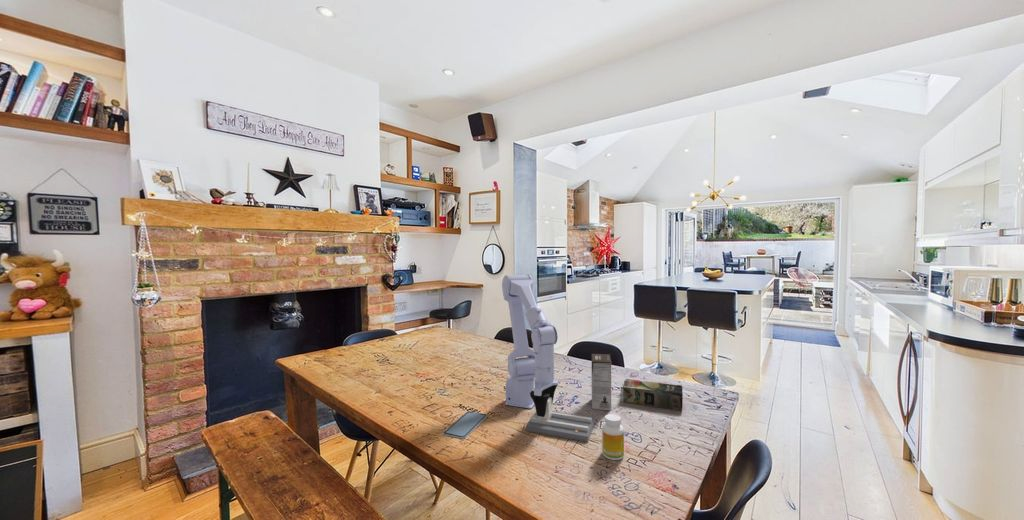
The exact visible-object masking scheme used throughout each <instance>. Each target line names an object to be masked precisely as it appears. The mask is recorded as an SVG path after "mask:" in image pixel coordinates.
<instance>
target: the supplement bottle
mask: <svg viewBox="0 0 1024 520" xmlns="http://www.w3.org/2000/svg"><path fill="white" fill-rule="evenodd" d="M601 453H602V455H603V457H605V458H607V459H609V460H612V461H619V460H622V459H623V458H625V457H624V456H625V430H624V427H623V425H622V417H621V416H620V415H618V414H614V413H608V414H606V415H605V416H604V423H603V424H602V427H601Z"/></svg>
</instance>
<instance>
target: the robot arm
mask: <svg viewBox="0 0 1024 520" xmlns="http://www.w3.org/2000/svg"><path fill="white" fill-rule="evenodd" d="M501 288H502V295H503V300H504V301H505V302H507V304H508V309H509V315H510V316H509V317H510V322H511V331H512V339H513V346H514V347H513V348H514V349H513V350H512V351H511V352H510V353H509V354H508V356H507V372H508V374H509V375H508V376H507V379H506V382H505V402H504V405H506V406H512V407H517V408H525V409H530V410H531V409H532V408H533V407H535V412H537V416H540V417H544V416H545V413H546V406H547V401H548V398H549V397H551V398H552V404H553V402H554V397H555V392H556V389H557V387H558V385H559V380H556V379H555V345H556V344H557V342H558V338H559V337H558V336H559V335H558V331H557V329H556V327H555V325H554V324H552V323H551V322H549V320H548V318H547V317H546V315H545V311H544V310H543V308H542V307H541V306H538V304H537V302H536V298H535V296H534V293H533V291H534V280H533V277H532V276H531V275H530V274H519V275H517V274H516V275H509V274H505V275H504V277H503V278H502V282H501ZM523 306H524V307H523ZM524 308H525V310H526V313H524ZM525 318H526V319H525ZM526 320H527V322H528V323H527V324H528V325H529V328H530V330H531V334H530V337H531V343H532V348H530V346H529V341H528V334H527V328H526Z"/></svg>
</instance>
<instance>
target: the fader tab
mask: <svg viewBox="0 0 1024 520" xmlns="http://www.w3.org/2000/svg"><path fill="white" fill-rule="evenodd" d="M552 406H553V403H552V398H551V397H549V398H548V401H547V406H546V413H545V416H544V417H540V416H538V418H540V419H546V420H549V419H550V418H551V416H552V411H553V409H552V408H553V407H552Z"/></svg>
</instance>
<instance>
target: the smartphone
mask: <svg viewBox="0 0 1024 520" xmlns="http://www.w3.org/2000/svg"><path fill="white" fill-rule="evenodd" d="M487 415H488V414H486V413H482V412H475V411H470V410H469V411H466V412H465V413H463V415H461V416H460V417H459V418H458V419H457V420H455V421H454V423H452V424H451V425H450V426H449V427H447V428H446V430H444V431H443V432H442V434H443V436H446V437H452V438H455V439H460V440H463V439H466V438H467V437H468V436H469V435H471V434H472V432H474V431H475V430H476V429H477V428H478V427H479V426H480V425H481V424H482V423H483V422H484V421H485V420H486V419H487V417H488V416H487Z"/></svg>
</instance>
